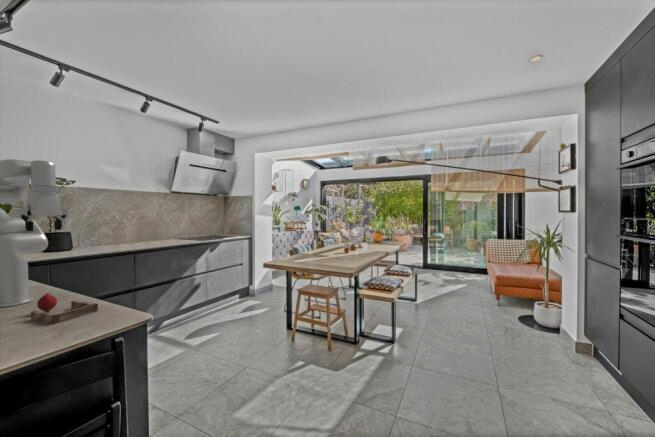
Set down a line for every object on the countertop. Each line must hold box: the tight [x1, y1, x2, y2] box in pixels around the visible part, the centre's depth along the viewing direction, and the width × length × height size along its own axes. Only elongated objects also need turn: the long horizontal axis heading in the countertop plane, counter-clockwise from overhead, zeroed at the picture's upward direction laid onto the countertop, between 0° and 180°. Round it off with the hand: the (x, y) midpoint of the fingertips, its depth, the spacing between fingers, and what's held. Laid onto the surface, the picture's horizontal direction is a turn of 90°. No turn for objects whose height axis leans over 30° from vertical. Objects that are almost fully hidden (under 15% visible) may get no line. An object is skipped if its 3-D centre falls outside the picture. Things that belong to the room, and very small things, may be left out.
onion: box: [36, 292, 58, 313], centre depth 120 cm, size 6×6×8 cm
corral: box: [30, 300, 99, 325], centre depth 116 cm, size 14×15×3 cm
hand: (44, 230), depth 122 cm, fingers open, 9 cm apart
